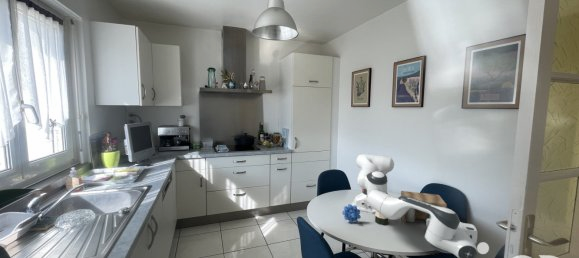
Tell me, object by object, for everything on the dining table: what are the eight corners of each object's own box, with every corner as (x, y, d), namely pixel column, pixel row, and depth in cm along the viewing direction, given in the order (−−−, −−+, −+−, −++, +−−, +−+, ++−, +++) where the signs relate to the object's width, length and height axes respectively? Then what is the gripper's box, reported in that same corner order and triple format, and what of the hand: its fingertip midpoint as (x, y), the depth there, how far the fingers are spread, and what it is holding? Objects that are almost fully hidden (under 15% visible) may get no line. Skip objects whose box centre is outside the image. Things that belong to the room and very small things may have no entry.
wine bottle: (372, 218, 153) (374, 174, 150) (385, 219, 153) (387, 174, 150) (377, 225, 145) (379, 177, 142) (390, 225, 145) (393, 178, 142)
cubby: (403, 226, 144) (404, 199, 142) (399, 215, 159) (401, 190, 158) (444, 232, 137) (446, 204, 136) (436, 220, 152) (438, 194, 151)
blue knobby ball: (344, 226, 143) (344, 207, 142) (341, 220, 150) (341, 202, 149) (362, 225, 144) (363, 207, 143) (358, 220, 150) (359, 202, 149)
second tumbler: (404, 220, 151) (405, 204, 150) (403, 216, 157) (404, 200, 156) (415, 222, 149) (416, 205, 148) (413, 218, 155) (414, 202, 154)
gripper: (429, 236, 112) (422, 222, 125) (480, 244, 106) (468, 228, 119) (429, 223, 112) (423, 211, 125) (481, 230, 105) (469, 216, 118)
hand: (445, 219), depth 122 cm, fingers open, 8 cm apart
